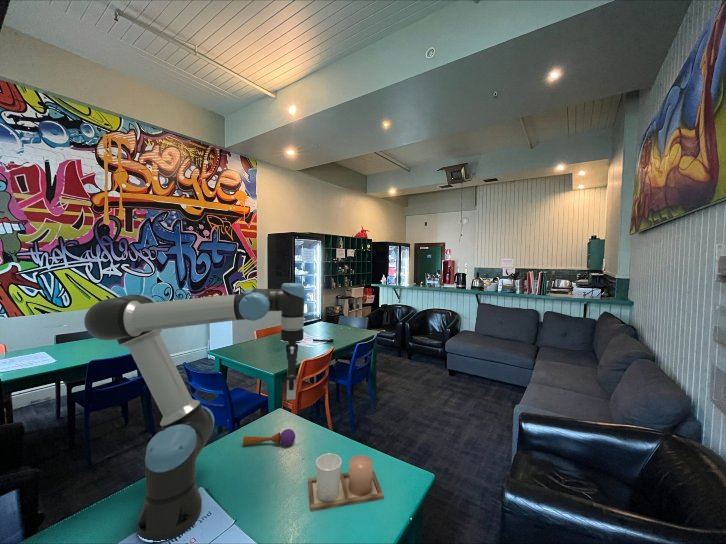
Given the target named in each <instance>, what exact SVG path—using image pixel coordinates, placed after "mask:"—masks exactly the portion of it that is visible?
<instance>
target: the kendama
mask: <svg viewBox="0 0 726 544" xmlns="http://www.w3.org/2000/svg"><path fill="white" fill-rule="evenodd" d="M269 441H271V442H273V443H274V444H277V445H280V444H282V446H284V447H289V446H292V445H293V443H294V442H295V441H296V433H295V431H294V430H293V429H291V428H286V429H284V430H282V432H280V431H279V432H277V433H276V434H273V435H272V436H249V435H248V436H246V435H245V436H243V438H242V446H243V447H245V446H246V447H247V446H250V445H255V444H261V443H264V442H265V443H266V442H269Z"/></svg>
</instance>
